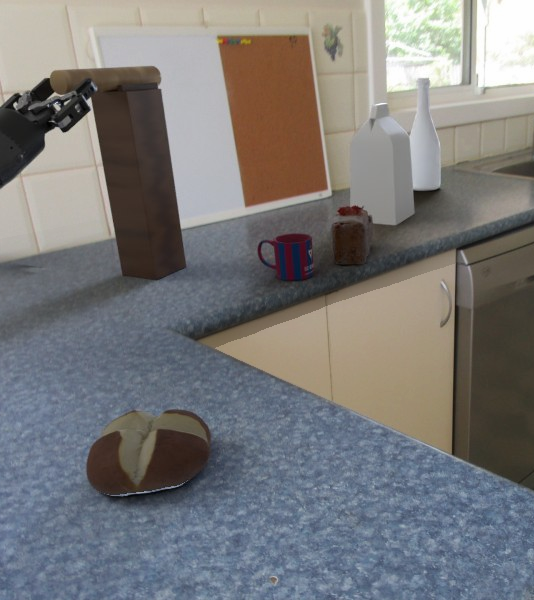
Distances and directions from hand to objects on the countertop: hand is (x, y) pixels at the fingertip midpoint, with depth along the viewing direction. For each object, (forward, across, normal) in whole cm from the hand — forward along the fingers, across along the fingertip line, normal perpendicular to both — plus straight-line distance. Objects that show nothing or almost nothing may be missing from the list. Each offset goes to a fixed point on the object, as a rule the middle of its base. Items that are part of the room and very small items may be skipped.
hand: (72, 83), depth 102 cm
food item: (+11, -30, +46) cm, 56 cm away
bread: (-49, -45, +10) cm, 67 cm away
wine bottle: (+68, -19, +78) cm, 105 cm away
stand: (-8, 0, +34) cm, 35 cm away
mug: (-2, -24, +38) cm, 45 cm away
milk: (+37, -22, +60) cm, 74 cm away
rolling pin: (+7, +1, +4) cm, 8 cm away
